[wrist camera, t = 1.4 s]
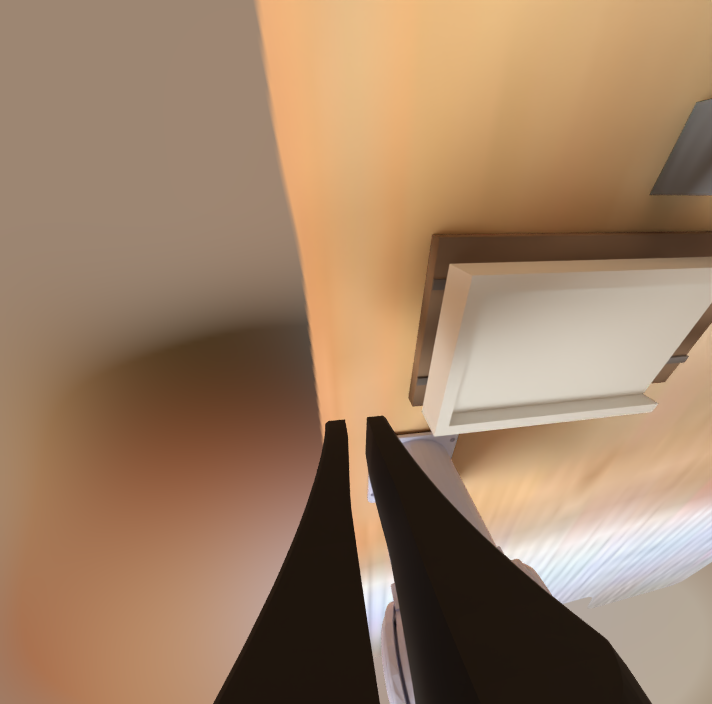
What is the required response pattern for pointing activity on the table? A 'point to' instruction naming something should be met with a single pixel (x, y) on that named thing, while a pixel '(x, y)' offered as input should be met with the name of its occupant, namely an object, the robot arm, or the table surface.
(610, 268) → the shallow rimmed tray
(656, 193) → the block
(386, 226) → the table surface
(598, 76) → the table surface
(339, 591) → the robot arm
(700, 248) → the track board
